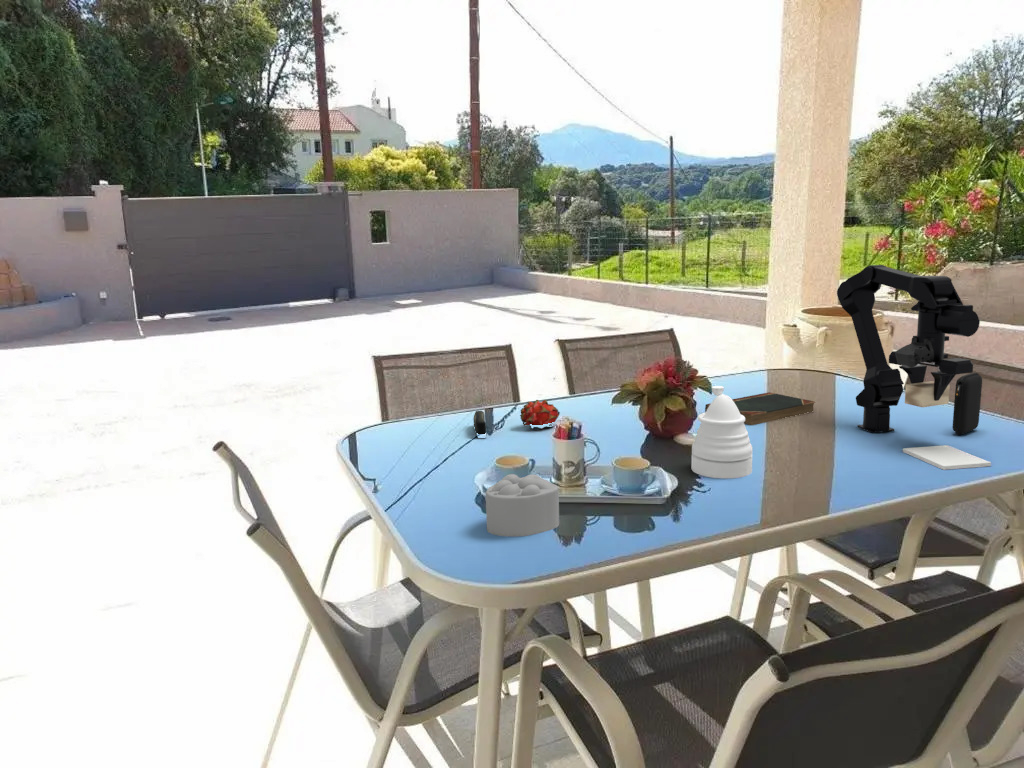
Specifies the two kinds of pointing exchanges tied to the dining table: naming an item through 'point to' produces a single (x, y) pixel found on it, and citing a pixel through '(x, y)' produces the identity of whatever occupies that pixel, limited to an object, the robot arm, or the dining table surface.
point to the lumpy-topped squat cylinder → (522, 506)
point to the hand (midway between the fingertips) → (926, 398)
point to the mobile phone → (479, 422)
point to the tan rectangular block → (924, 395)
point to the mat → (946, 457)
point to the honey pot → (722, 441)
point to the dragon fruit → (539, 413)
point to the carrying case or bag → (967, 403)
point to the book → (770, 407)
